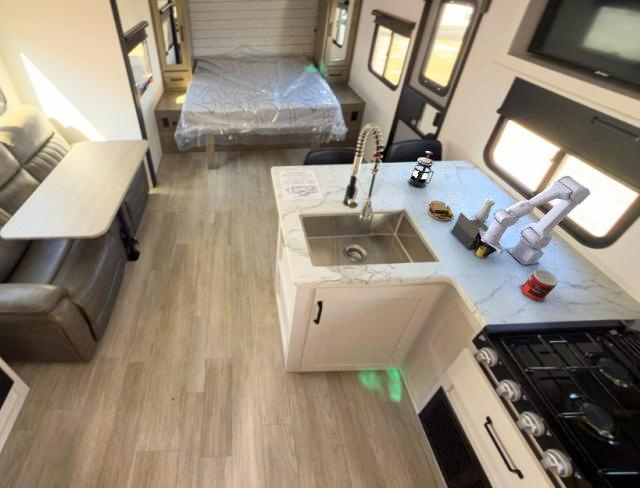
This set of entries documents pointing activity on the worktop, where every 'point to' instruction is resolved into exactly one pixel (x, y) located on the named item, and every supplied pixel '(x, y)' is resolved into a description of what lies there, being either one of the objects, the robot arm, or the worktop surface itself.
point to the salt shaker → (485, 210)
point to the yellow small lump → (481, 251)
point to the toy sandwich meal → (440, 211)
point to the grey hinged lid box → (466, 237)
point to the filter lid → (467, 225)
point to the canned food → (539, 285)
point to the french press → (422, 172)
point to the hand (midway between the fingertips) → (481, 252)
